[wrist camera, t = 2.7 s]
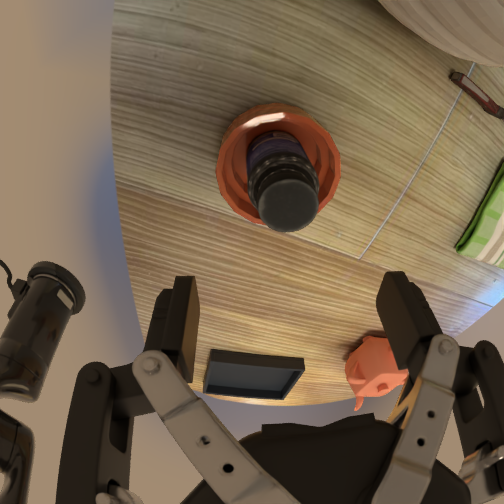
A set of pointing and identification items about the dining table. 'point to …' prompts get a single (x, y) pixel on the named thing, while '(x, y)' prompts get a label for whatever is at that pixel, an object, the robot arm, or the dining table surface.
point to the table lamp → (456, 26)
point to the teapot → (373, 369)
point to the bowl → (264, 120)
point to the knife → (478, 95)
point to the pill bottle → (281, 181)
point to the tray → (251, 375)
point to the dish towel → (487, 228)
